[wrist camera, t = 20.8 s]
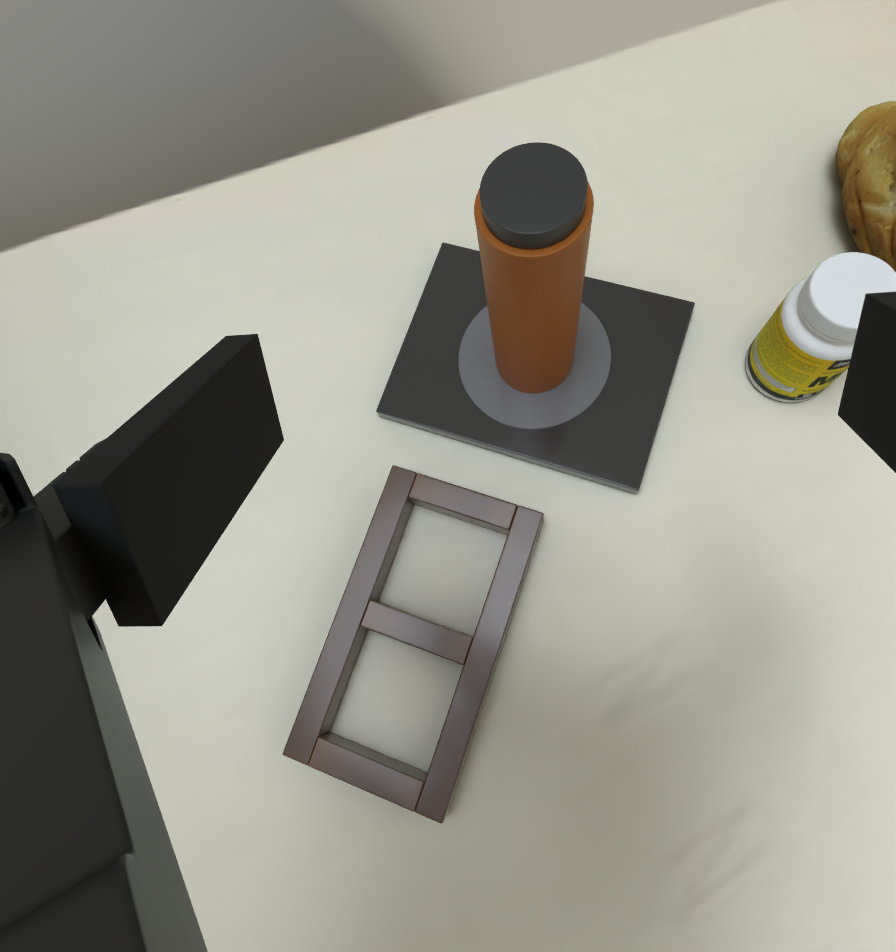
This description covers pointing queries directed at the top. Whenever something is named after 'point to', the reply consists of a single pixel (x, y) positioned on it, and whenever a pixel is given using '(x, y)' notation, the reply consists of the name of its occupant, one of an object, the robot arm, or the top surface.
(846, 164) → the bread roll
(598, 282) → the hob plate
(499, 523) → the frame
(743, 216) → the top surface
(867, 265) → the supplement bottle
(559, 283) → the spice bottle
